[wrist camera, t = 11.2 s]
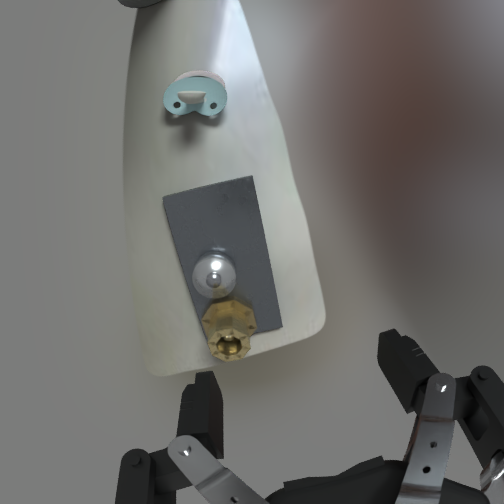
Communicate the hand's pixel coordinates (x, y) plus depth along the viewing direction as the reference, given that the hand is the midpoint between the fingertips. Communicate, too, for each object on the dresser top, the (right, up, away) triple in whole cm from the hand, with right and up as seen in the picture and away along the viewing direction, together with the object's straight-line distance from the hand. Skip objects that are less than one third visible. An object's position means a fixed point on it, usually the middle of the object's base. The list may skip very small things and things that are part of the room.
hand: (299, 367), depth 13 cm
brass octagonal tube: (-5, -4, +27) cm, 28 cm away
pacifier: (-9, +24, +18) cm, 32 cm away
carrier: (-5, +4, +25) cm, 26 cm away
